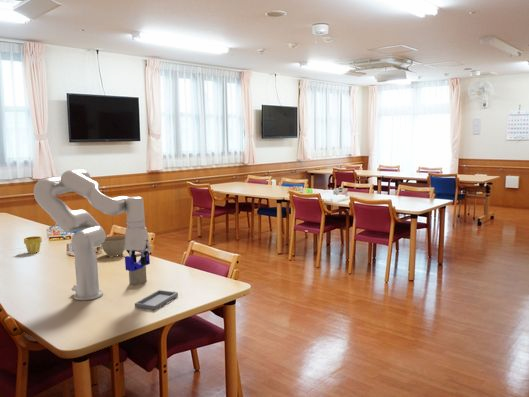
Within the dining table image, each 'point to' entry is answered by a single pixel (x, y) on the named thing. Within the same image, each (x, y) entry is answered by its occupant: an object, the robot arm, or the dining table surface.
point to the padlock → (137, 275)
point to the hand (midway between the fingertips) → (138, 264)
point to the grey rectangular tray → (156, 300)
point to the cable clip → (132, 265)
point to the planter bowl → (114, 245)
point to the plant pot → (33, 243)
